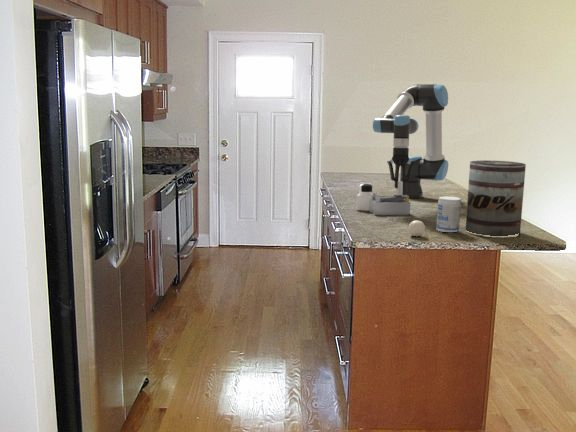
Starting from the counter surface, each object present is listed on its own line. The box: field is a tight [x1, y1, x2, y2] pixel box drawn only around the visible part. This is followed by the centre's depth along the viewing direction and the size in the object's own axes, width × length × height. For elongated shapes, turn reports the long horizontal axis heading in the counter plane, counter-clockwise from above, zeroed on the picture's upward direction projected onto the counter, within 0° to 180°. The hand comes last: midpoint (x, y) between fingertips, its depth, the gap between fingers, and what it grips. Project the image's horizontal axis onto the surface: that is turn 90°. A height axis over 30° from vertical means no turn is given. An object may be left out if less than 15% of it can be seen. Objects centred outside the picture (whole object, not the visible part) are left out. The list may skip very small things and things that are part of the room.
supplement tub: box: [435, 195, 462, 233], centre depth 278 cm, size 10×10×15 cm
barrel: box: [465, 159, 527, 236], centre depth 277 cm, size 22×22×30 cm
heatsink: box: [368, 192, 411, 216], centre depth 321 cm, size 18×10×10 cm, turn 97°
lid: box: [375, 194, 407, 201], centre depth 321 cm, size 16×4×2 cm, turn 97°
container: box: [355, 183, 373, 212], centre depth 330 cm, size 8×8×13 cm
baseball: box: [407, 219, 426, 237], centre depth 268 cm, size 7×7×7 cm
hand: (399, 194), depth 321 cm, fingers closed, pressing on lid
